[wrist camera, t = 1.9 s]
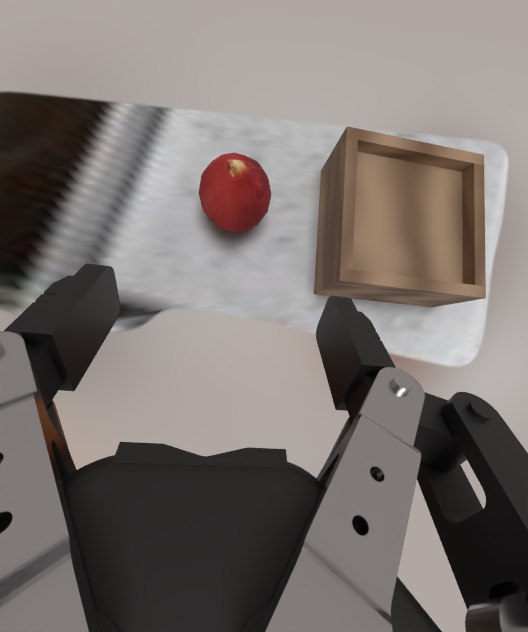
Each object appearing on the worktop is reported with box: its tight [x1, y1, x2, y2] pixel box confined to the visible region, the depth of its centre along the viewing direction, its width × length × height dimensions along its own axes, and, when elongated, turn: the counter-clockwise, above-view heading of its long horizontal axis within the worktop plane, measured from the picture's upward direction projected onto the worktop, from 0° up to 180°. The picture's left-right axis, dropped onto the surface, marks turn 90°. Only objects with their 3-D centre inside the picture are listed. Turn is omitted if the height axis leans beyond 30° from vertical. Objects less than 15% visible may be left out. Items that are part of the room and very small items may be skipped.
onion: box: [199, 153, 271, 232], centre depth 23 cm, size 6×6×8 cm
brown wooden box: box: [314, 127, 486, 307], centre depth 26 cm, size 13×13×6 cm
